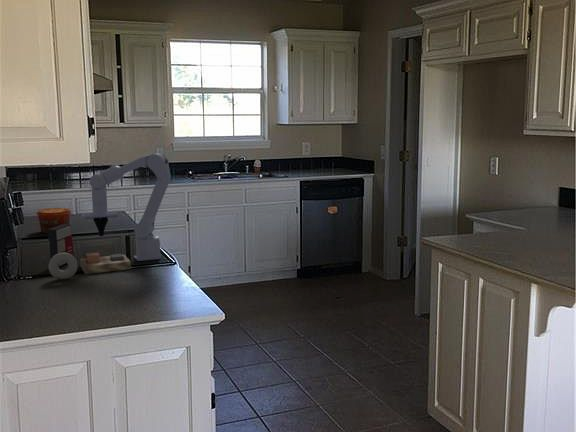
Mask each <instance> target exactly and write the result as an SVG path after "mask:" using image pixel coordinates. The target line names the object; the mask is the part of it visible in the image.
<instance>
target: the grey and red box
mask: <svg viewBox="0 0 576 432" xmlns="http://www.w3.org/2000/svg"><path fill="white" fill-rule="evenodd" d="M47 233H48V234H47V240H48V241H49V253H50V254H49V255H50V259H51V258H52V257H53V256H54V255H56V254H58V253H62V252H63V253H69V254H71V255H72V256H74V249H73V236H72V225H71V224H69V225H66V224H62V225H59V226H56V227H53V228H50V229H48V230H47ZM66 264H67V263H66V262H60V263H59V265H58V267H59V268H60V267H61V266H64V265H66Z"/></svg>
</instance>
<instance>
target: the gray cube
mask: <svg viewBox="0 0 576 432" xmlns="http://www.w3.org/2000/svg"><path fill="white" fill-rule="evenodd" d="M123 255H124V254H122V253H116V254H110V255H109V256H110V260H111V261H118V260H124V256H123Z"/></svg>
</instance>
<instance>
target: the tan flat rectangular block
mask: <svg viewBox="0 0 576 432" xmlns="http://www.w3.org/2000/svg"><path fill="white" fill-rule="evenodd" d="M122 255H123V256H124V260H118V261H111V260H110V255H108V256H107V255H106V256H100V262H98V263H88V264H87V261H86V258H79V259H80V268H81V269H82V271H83V273H84V275H88V274H97V273H107V272H117V271H124V270H125V271H126V270H131V269H132V265H131V264H132V263H131V260H130V259H129V258H128V257H127V256H126V254H122Z"/></svg>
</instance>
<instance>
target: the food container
mask: <svg viewBox="0 0 576 432" xmlns="http://www.w3.org/2000/svg"><path fill="white" fill-rule="evenodd" d="M71 215H72V211H71V210H70V209H69V208H61V207H56V208H55V207H54V208H44V209H41V210H38V211H37V212H36V216H37V218H38V221H39V226H40V232H41V234H43V233H44V234H43V235H45V234H46V235H48V233H47V230H48V229H50V228H53V227H56V226H59V225H62V224H66V225H70V218H71Z"/></svg>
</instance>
